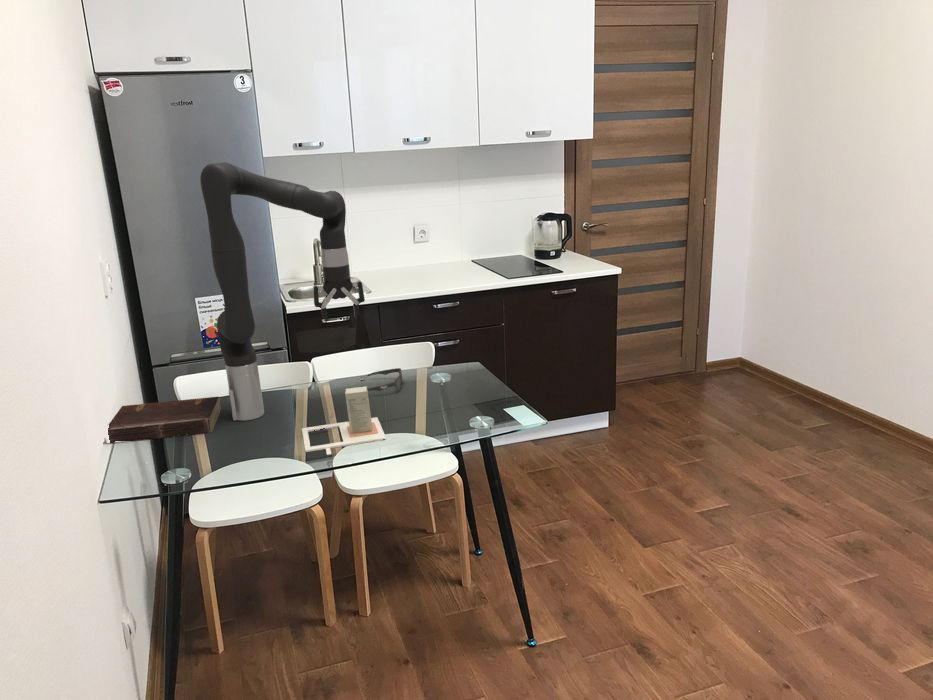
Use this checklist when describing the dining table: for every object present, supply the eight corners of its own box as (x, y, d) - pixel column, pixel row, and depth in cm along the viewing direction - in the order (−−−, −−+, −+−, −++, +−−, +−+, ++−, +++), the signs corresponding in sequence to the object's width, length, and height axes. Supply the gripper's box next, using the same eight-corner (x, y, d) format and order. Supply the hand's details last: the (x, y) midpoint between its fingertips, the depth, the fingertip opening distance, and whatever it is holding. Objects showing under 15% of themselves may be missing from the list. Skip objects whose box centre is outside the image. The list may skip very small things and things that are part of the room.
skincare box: (372, 425, 214) (368, 385, 210) (372, 431, 210) (368, 390, 206) (349, 427, 213) (345, 387, 210) (349, 433, 209) (344, 393, 206)
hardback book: (106, 445, 213) (103, 429, 212) (125, 420, 231) (122, 405, 229) (211, 434, 217) (208, 418, 215) (221, 411, 235) (219, 396, 233)
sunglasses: (401, 395, 239) (398, 381, 237) (350, 403, 240) (346, 389, 238) (406, 378, 254) (403, 364, 253) (358, 385, 256) (355, 372, 254)
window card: (306, 458, 197) (306, 455, 197) (302, 429, 215) (301, 427, 215) (388, 445, 202) (388, 442, 202) (377, 418, 221) (377, 416, 220)
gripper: (310, 268, 206) (317, 324, 210) (362, 263, 209) (367, 318, 214) (309, 263, 212) (315, 318, 217) (358, 258, 216) (364, 312, 221)
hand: (341, 318), depth 216 cm, fingers open, 8 cm apart
